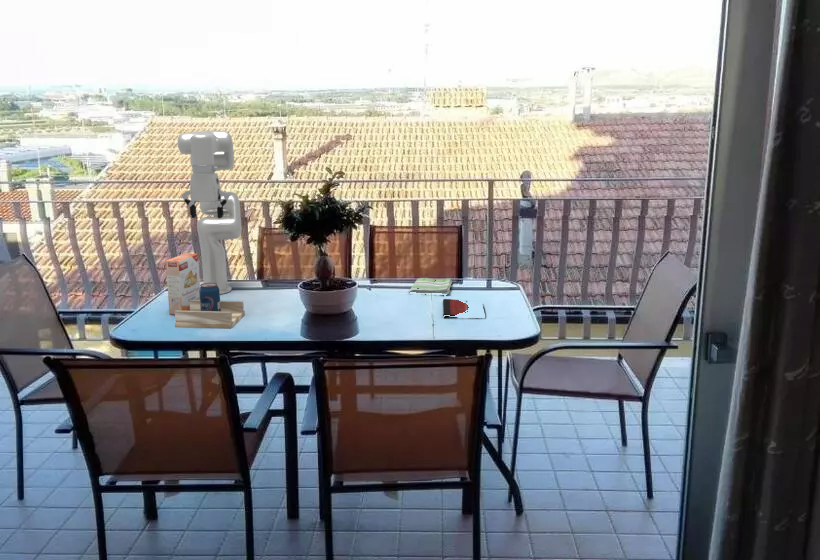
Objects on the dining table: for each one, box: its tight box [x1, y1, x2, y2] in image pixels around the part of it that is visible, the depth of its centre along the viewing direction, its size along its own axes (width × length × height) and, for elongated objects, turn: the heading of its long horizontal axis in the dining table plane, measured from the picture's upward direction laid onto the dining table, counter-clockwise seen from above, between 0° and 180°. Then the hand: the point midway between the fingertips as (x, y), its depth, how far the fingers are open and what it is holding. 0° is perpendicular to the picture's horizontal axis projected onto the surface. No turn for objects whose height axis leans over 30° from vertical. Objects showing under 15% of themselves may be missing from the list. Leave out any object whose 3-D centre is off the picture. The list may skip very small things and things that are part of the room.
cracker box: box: [165, 252, 201, 316], centre depth 246 cm, size 14×6×21 cm, turn 168°
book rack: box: [174, 300, 246, 329], centre depth 235 cm, size 16×20×6 cm
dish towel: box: [408, 277, 454, 294], centre depth 281 cm, size 17×23×4 cm
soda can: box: [199, 282, 221, 311], centre depth 234 cm, size 7×7×12 cm
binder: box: [442, 298, 469, 317], centre depth 250 cm, size 16×2×21 cm
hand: (207, 217), depth 236 cm, fingers open, 9 cm apart
